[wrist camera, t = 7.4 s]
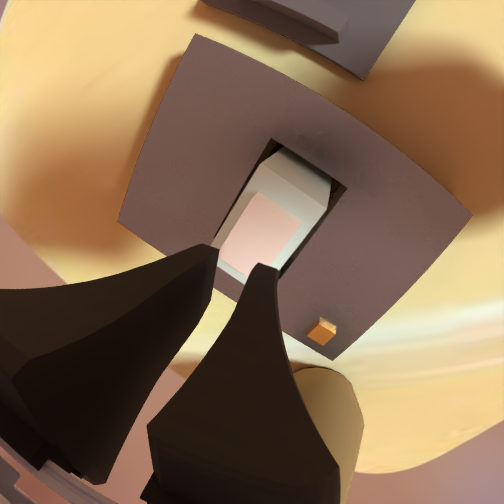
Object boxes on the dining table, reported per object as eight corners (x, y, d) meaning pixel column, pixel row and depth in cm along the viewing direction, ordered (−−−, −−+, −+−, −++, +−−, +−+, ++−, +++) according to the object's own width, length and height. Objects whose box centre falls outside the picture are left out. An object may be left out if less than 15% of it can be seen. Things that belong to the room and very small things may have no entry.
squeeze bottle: (362, 416, 25) (330, 601, 9) (277, 412, 27) (215, 583, 12) (369, 355, 21) (338, 605, 6) (265, 353, 24) (173, 572, 8)
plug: (332, 175, 17) (325, 215, 11) (284, 240, 19) (254, 304, 13) (287, 144, 17) (254, 167, 11) (243, 212, 19) (196, 265, 13)
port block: (454, 197, 15) (475, 217, 12) (335, 330, 21) (331, 364, 18) (218, 42, 15) (192, 32, 12) (143, 205, 21) (114, 223, 18)
